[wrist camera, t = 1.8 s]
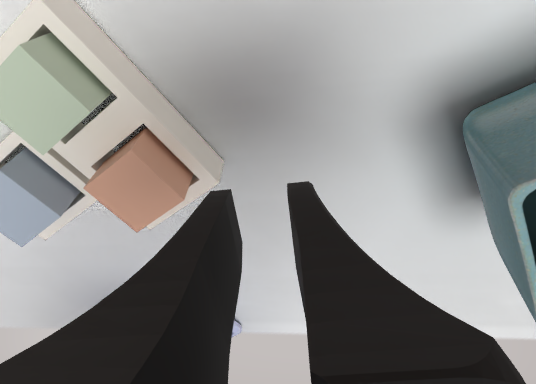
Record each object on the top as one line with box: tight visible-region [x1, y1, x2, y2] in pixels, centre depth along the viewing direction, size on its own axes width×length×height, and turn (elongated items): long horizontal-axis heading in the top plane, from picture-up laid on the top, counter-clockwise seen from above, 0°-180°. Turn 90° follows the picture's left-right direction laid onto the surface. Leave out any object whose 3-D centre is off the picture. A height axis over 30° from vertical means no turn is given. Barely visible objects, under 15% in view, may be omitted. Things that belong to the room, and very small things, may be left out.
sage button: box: [0, 32, 112, 155], centre depth 17 cm, size 3×3×3 cm
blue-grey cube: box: [0, 147, 80, 247], centre depth 20 cm, size 3×3×3 cm
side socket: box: [0, 131, 98, 241], centre depth 21 cm, size 5×5×2 cm
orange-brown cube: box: [83, 127, 193, 232], centre depth 19 cm, size 3×3×3 cm
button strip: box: [0, 0, 224, 230], centre depth 20 cm, size 5×11×2 cm, turn 37°
